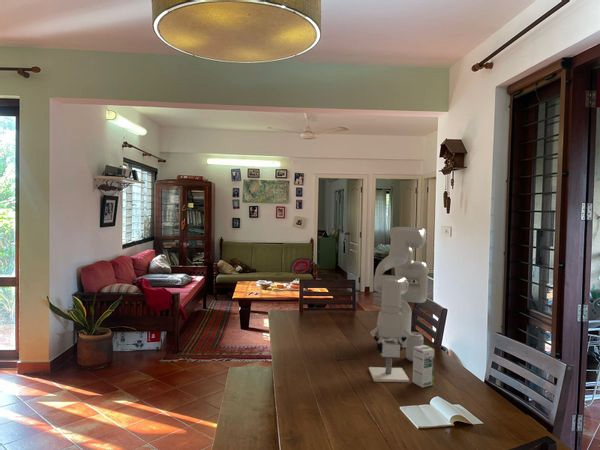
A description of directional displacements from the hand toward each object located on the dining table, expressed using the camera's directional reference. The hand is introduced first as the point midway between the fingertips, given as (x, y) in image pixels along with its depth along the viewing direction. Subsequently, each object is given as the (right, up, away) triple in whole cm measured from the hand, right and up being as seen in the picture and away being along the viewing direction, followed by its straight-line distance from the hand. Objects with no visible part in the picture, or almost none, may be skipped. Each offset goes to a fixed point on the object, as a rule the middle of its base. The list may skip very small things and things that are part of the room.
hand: (389, 352), depth 169 cm
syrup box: (+12, -11, -6) cm, 17 cm away
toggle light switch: (0, -10, +1) cm, 10 cm away
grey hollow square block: (0, -1, 0) cm, 1 cm away
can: (+16, -10, +20) cm, 27 cm away
